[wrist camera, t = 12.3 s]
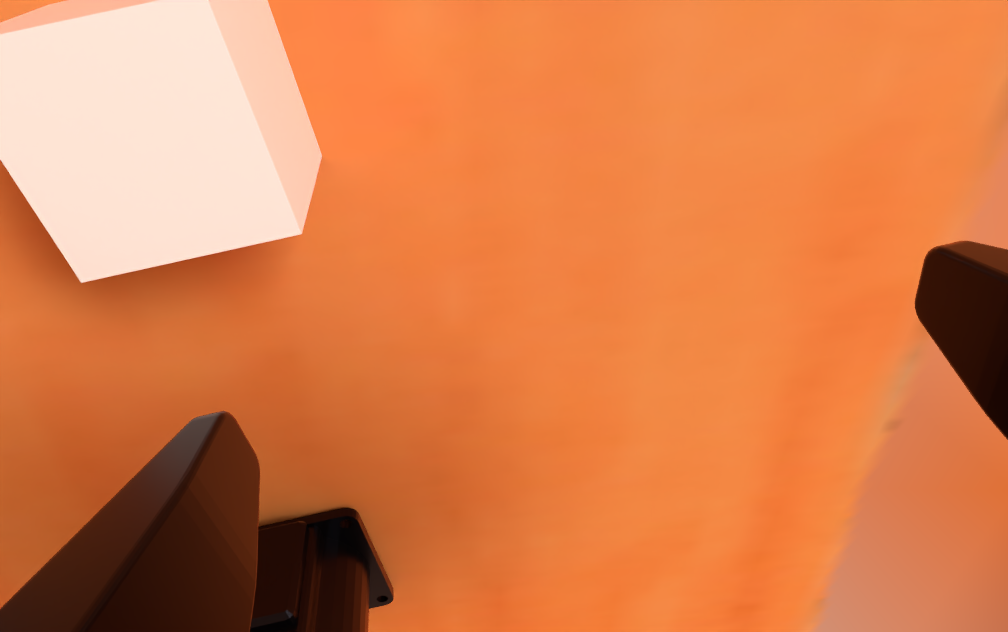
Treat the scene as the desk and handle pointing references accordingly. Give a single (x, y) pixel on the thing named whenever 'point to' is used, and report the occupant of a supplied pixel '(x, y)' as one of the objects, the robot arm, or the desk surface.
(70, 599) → the robot arm
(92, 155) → the off-white block
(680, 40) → the desk surface
